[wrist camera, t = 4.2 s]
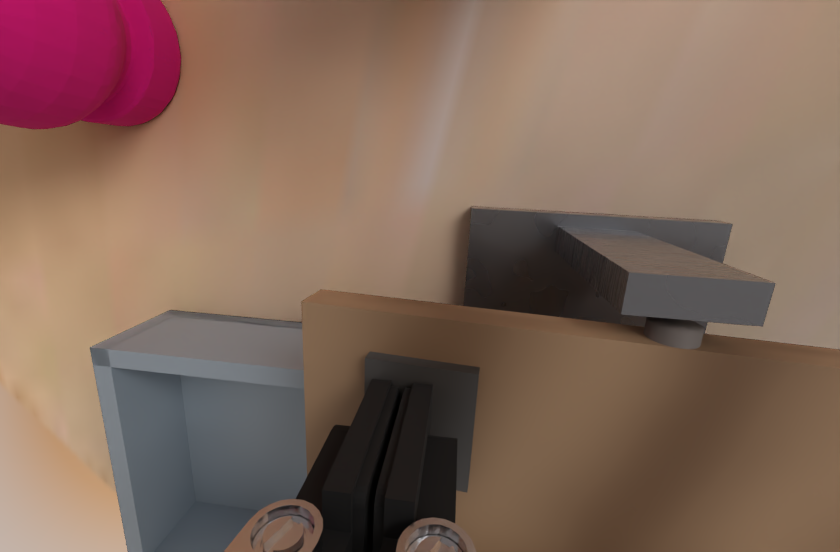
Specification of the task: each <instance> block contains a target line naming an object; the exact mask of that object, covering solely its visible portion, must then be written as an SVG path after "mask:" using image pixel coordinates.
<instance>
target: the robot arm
mask: <svg viewBox="0 0 840 552" xmlns="http://www.w3.org/2000/svg"><path fill="white" fill-rule="evenodd" d="M399 392H400V389H399V387H397V386H393V382H392V381H391V380H381V379H372V380H371V382H370V384H369V386H368V388H367V391H366V393H365V395H364V397H363V400H362V402H361V404H360V406H359V408H358V411H357V413H356V415H355V417H354V419H353V422H352V424H351V426H345V425H334V427H333V428H332V430H331V431H330V433H329V435H328V437H327V439H326V441H325V443H324V445H323V447H322V449H321V451H320V453H319V455H318V457H317V458H316V460H315V462H314V464H313V466H312V468H311V470H310V472H309V474H308V476H307V478H306V480H305V482H304V483H303V485H302V487H301V489H300V491H299V493H298V495H297V497H296V499H287V500H280V501H278V502H275V503H272V504H269V505H268V506H266V507H264V508H263V509H261V510H259V511H258V512H257V513H256V514H255V515H254V516H253V517H252V518H251V519H250V520H249V521H248V522H247V524H246V525H245V526H244V527H243V528H242V530H241V531H240V532H239V533H238V535H237V536H236V537H235V538H234V540H233V541H232V542H231V543H230V544H229V546H228V547H227V548H226V549H225V551H224V552H476V549H475V547H474V544H473V541H472V539H471V538H470V537H469V535H468V534H467V533H466V531H465V530H463V529H462V528H461V527H459V526H458V525H457V524H455V516H456V479H457V438H449V437H441V436H432V435H430V426H431V411H432V395H433V385H430V384H420V383H413V385H412V388H406V387H405V389H404V392H403V396H402V399H401V403H400V406H399Z"/></svg>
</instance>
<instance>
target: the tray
mask: <svg viewBox="0 0 840 552" xmlns="http://www.w3.org/2000/svg"><path fill="white" fill-rule="evenodd" d="M301 304H302V335H303V366H304V397H305V428H306V459H307V476H308V474H309V472H310V470H311V468H312V466H313V464H314V462H315V460H316V458H317V457H318V455H319V453H320V451H321V449H322V447H323V445H324V443H325V441H326V439H327V437H328V435H329V433H330V431H331V430H332V428H333V427H334V425H345V426H351V424H352V422H353V419H354V417H355V415H356V413H357V411H358V408H359V406H360V404H361V402H362V400H363V397H364V395H365V393H366V391H367V388H368V386H369V384H370V382H371V380H372V379H381V380H391V381H392V382H393V386H397V387H399V389H400V392H399V406H400V403H401V399H402V396H403V392H404V389H405V387H406V388H412V385H413V383H420V384H430V385H433V395H432V411H431V426H430V435H432V436H441V437H449V438H457V479H456V516H455V524H457V525H458V526H459V527H461V528H462V529H463V530H465V531H466V533H467V534H468V535H469V537H470V538H471V539H472V541H473V544H474V547H475V549H476V552H840V350H839V349H830V348H822V347H813V346H804V345H796V344H787V343H778V342H770V341H761V340H753V339H744V338H735V337H727V336H718V335H709V334H704V330H705V329H704V327H703V326H701V325H700V324H698V323H696V322H694V321H691V320H681V319H669V318H657V317H646V322H645V327H641V326H632V325H623V324H615V323H606V322H597V321H589V320H580V319H572V318H563V317H554V316H546V315H537V314H528V313H520V312H511V311H503V310H494V309H485V308H477V307H468V306H459V305H451V304H442V303H434V302H425V301H416V300H408V299H399V298H390V297H382V296H373V295H365V294H356V293H347V292H339V291H330V290H319V291H318V292H316V293H314V294H313V295H311V296H310V297H308V298H306V299H305V300H303V301H302V302H301Z"/></svg>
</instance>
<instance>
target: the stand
mask: <svg viewBox="0 0 840 552" xmlns="http://www.w3.org/2000/svg"><path fill="white" fill-rule="evenodd" d="M731 228H732V224H730V223H725V222H721V221H712V220H695V219H678V218H662V217H645V216H628V215H611V214H594V213H578V212H561V211H544V210H527V209H510V208H493V207H477V206H472V208H471V221H470V233H469V245H468V257H467V270H466V282H465V294H464V306H468V307H477V308H485V309H494V310H503V311H511V312H520V313H528V314H537V315H546V316H554V317H563V318H572V319H580V320H589V321H597V322H606V323H615V324H623V325H632V326H641V327H645V322H646V317H657V318H669V319H681V320H691V321H694V322H696V323H698V324H700V325H701V326H703V327H704V329H705V330H706V326H707V322H716V323H728V324H740V325H752V326H763V324H764V320H765V317H766V314H767V310H768V307H769V304H770V300H771V297H772V293H773V290H774V287H775V283H774V282H771V281H769V280H766V279H763V278H761V277H758V276H755V275H752V274H750V273H747V272H744V271H742V270H739V269H736V268H734V267H731V266H728V265H726V264H723V260H724V256H725V252H726V248H727V244H728V240H729V236H730V232H731ZM705 330H704V334H705Z"/></svg>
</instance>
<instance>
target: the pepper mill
mask: <svg viewBox="0 0 840 552" xmlns="http://www.w3.org/2000/svg"><path fill="white" fill-rule="evenodd" d="M180 65H181V55H180V49H179V43H178V37H177V33H176V30H175V28H174V26H173V23H172V21H171V18H170V16H169V14H168V12H167V10H166V8H165V7H164V5H163V4H162V2H161V1H160V0H0V124H4V125H10V126H15V127H21V128H29V129H49V128H55V127H62V126H67V125H70V124H72V123H75V122H77V121H80V120H82V121H86V122H93V123H101V124H108V125H116V126H133V125H138V124H142V123H145V122H147V121H149V120H151V119H153V118H154V117H156V116H157V115H158V114H160V113H161V112H162V111H163V110H164V108H165V107H166V106H167V104H168V103H169V102H170V100H171V99H172V98H173V96H174V93H175V90H176V87H177V84H178V81H179V77H180Z"/></svg>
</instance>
